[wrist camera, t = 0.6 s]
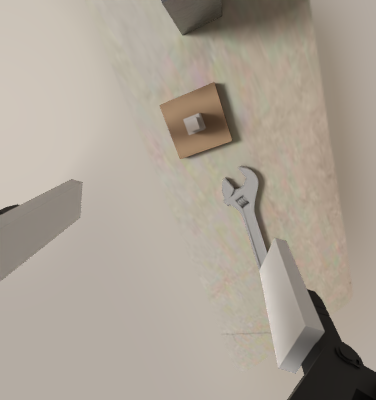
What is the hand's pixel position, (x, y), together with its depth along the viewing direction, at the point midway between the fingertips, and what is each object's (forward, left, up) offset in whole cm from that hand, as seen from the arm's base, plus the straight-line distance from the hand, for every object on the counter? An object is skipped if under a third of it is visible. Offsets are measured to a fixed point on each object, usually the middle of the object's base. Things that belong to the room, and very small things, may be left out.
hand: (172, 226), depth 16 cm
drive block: (-5, -1, -28) cm, 28 cm away
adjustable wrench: (+15, +7, -28) cm, 32 cm away
